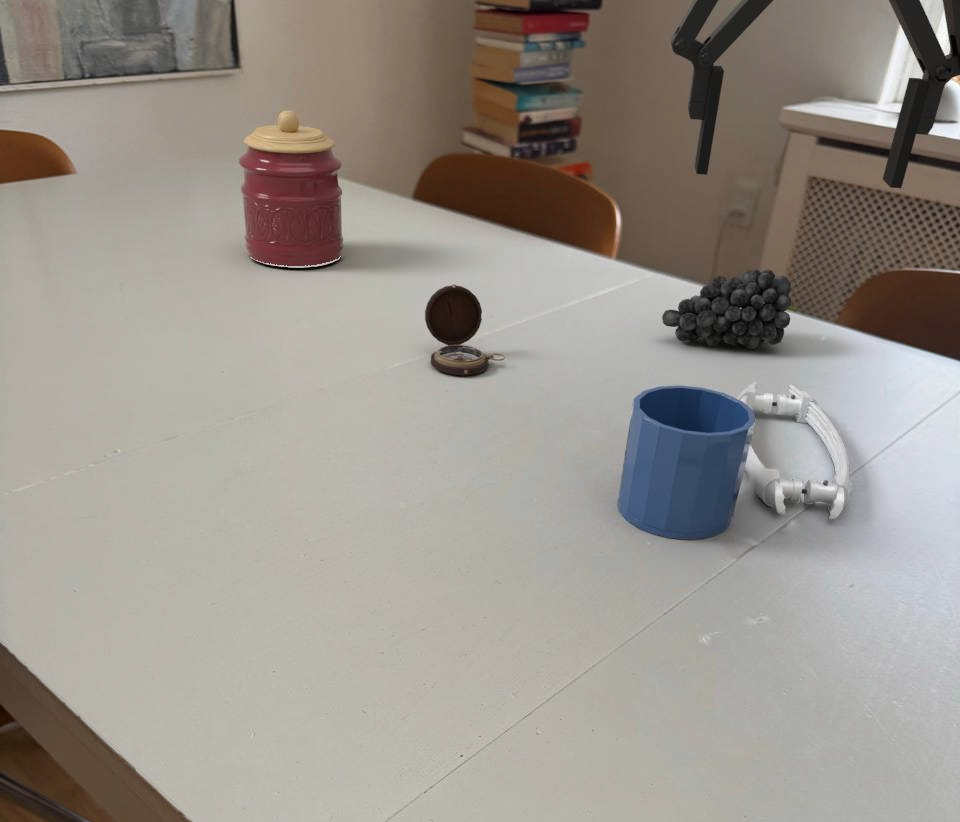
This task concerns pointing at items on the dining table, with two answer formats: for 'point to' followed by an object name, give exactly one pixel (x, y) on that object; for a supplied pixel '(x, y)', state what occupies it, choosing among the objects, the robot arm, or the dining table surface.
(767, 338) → the fruit
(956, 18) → the robot arm
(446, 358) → the compass
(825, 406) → the dining table surface
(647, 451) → the blue cup
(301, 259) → the kitchen canister
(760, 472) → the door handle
